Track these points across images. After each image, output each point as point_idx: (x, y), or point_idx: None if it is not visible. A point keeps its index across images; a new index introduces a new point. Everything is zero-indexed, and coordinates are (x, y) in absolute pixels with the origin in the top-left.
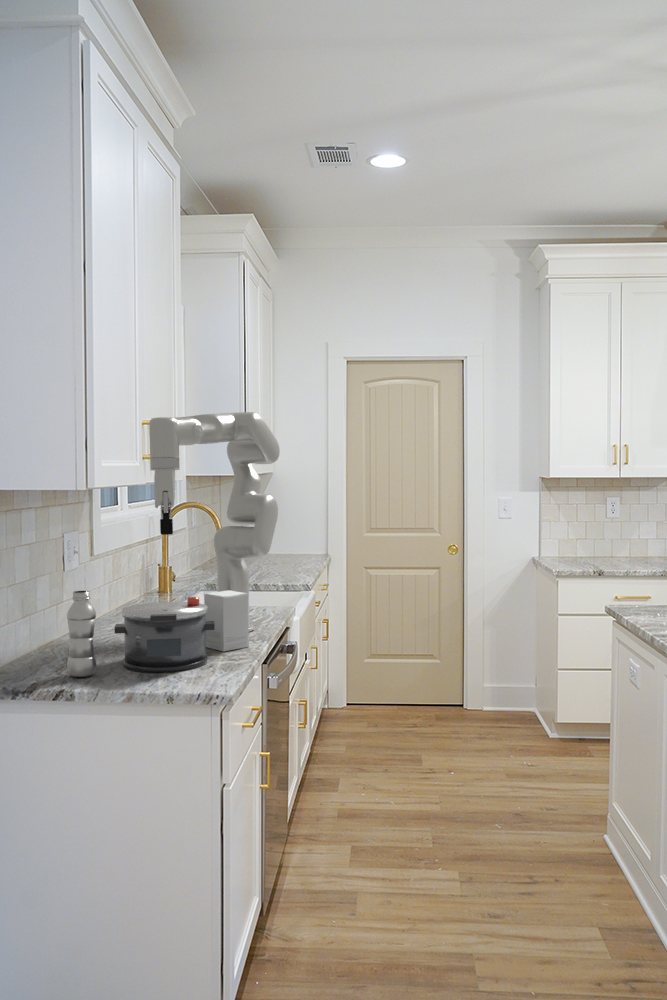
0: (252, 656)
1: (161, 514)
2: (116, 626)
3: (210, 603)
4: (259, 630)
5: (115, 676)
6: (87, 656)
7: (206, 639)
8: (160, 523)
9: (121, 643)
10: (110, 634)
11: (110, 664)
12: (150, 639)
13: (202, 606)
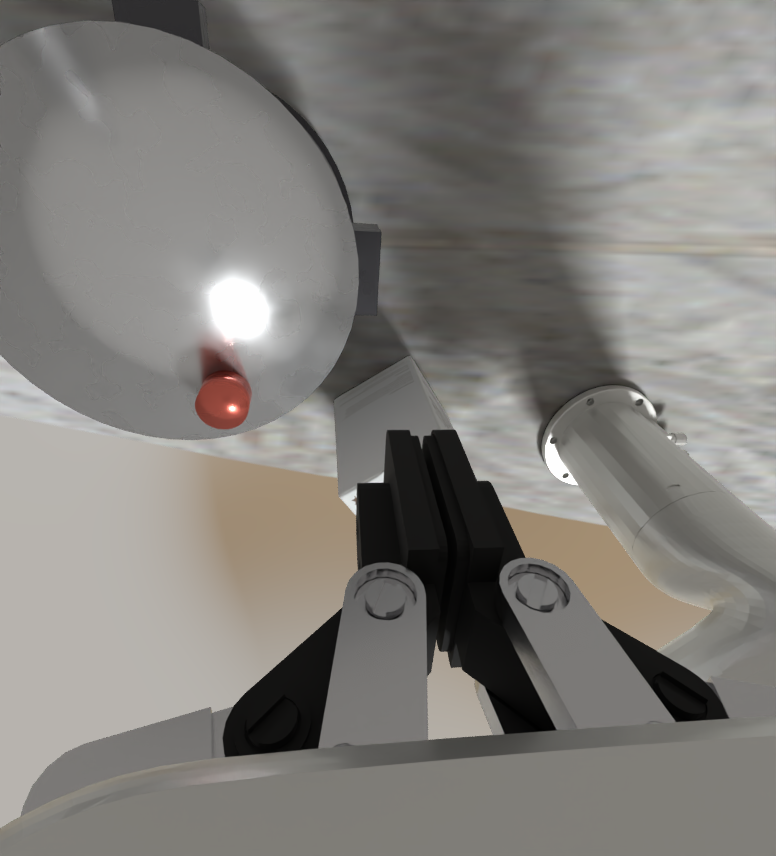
0: (273, 459)
1: (334, 653)
2: (129, 3)
3: None
4: (561, 488)
5: (13, 34)
6: None
7: (404, 369)
8: (399, 510)
9: (562, 61)
10: (753, 5)
11: (208, 9)
12: None
13: (190, 423)
